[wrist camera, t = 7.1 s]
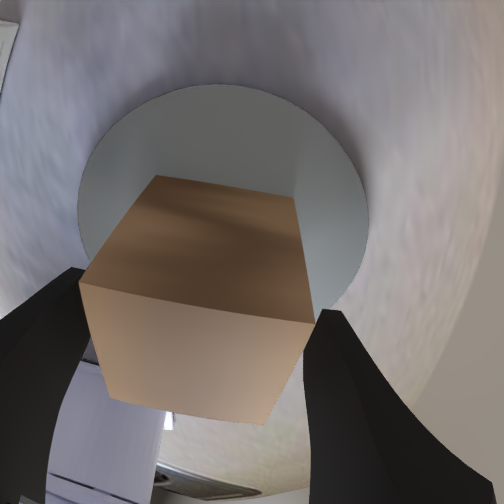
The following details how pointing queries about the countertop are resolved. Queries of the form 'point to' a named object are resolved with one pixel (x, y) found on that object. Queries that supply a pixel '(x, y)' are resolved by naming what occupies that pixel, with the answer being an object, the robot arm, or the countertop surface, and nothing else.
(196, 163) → the slate dish
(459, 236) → the countertop surface
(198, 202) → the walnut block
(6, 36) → the small box
